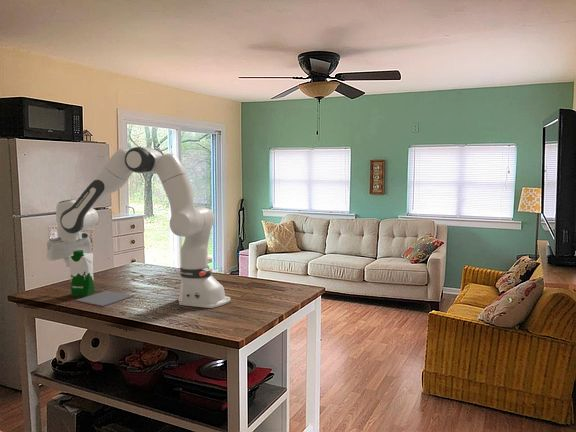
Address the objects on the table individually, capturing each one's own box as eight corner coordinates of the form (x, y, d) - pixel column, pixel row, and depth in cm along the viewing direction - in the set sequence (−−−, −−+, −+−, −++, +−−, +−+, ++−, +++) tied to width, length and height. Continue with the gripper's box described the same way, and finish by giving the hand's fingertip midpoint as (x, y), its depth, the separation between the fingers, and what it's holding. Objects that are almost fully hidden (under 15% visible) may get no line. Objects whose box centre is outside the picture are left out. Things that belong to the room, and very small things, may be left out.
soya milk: (68, 297, 208) (65, 252, 205) (79, 291, 217) (76, 248, 214) (87, 297, 207) (85, 252, 204) (97, 291, 216) (95, 248, 213)
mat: (133, 296, 207) (133, 295, 207) (102, 306, 194) (102, 305, 194) (106, 291, 216) (106, 290, 216) (75, 300, 202) (75, 299, 202)
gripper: (51, 240, 202) (53, 272, 204) (92, 233, 220) (94, 262, 221) (42, 239, 205) (44, 270, 207) (83, 232, 223) (85, 261, 224)
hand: (70, 266), depth 214 cm, fingers closed
